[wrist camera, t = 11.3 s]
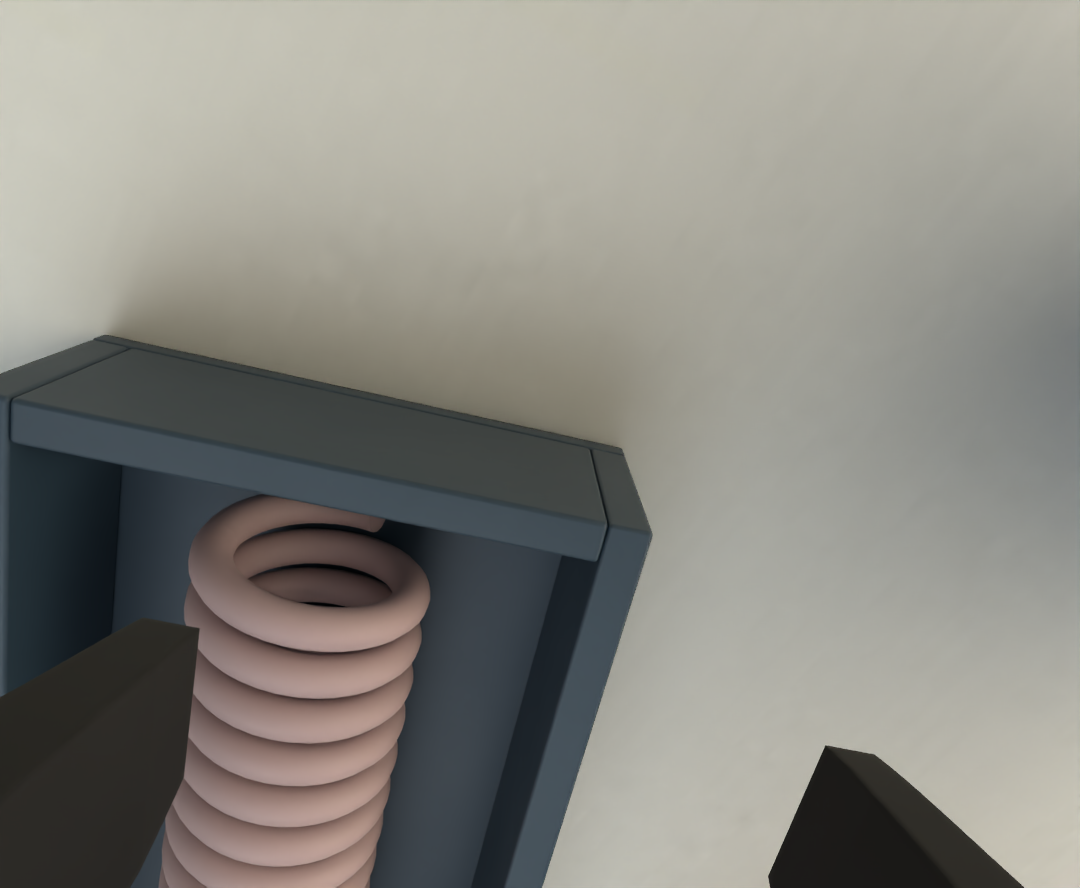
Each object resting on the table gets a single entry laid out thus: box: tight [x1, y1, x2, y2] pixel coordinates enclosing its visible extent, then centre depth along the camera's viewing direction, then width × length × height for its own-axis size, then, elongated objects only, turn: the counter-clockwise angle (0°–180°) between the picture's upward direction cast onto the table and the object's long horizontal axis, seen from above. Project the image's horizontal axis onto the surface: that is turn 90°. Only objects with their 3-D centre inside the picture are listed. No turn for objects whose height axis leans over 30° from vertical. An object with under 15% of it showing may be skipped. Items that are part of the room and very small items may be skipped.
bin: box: [0, 335, 652, 888], centre depth 18 cm, size 12×22×4 cm, turn 167°
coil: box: [159, 494, 430, 888], centre depth 18 cm, size 5×5×18 cm
